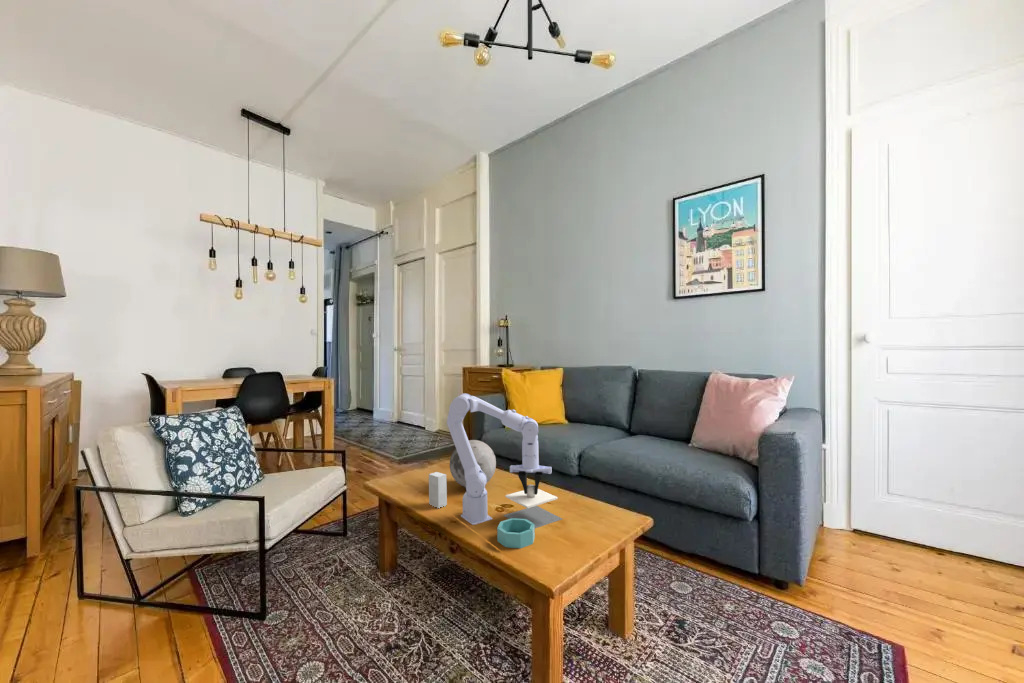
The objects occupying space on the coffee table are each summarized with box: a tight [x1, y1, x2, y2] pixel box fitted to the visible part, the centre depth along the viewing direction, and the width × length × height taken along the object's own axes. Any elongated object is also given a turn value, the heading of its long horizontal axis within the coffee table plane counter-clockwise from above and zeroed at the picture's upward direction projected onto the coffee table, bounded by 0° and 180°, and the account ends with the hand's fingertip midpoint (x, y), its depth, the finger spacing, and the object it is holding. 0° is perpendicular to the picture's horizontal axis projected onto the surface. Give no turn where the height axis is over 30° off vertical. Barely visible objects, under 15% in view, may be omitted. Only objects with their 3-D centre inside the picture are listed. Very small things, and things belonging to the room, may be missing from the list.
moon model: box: [449, 439, 497, 488], centre depth 178 cm, size 20×20×20 cm
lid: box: [505, 484, 559, 509], centre depth 144 cm, size 13×13×4 cm
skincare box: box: [428, 471, 448, 509], centre depth 158 cm, size 6×4×12 cm
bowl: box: [496, 518, 536, 549], centre depth 129 cm, size 11×11×4 cm
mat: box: [502, 505, 563, 529], centre depth 145 cm, size 15×15×1 cm
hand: (531, 493), depth 144 cm, fingers closed on lid, 3 cm apart
